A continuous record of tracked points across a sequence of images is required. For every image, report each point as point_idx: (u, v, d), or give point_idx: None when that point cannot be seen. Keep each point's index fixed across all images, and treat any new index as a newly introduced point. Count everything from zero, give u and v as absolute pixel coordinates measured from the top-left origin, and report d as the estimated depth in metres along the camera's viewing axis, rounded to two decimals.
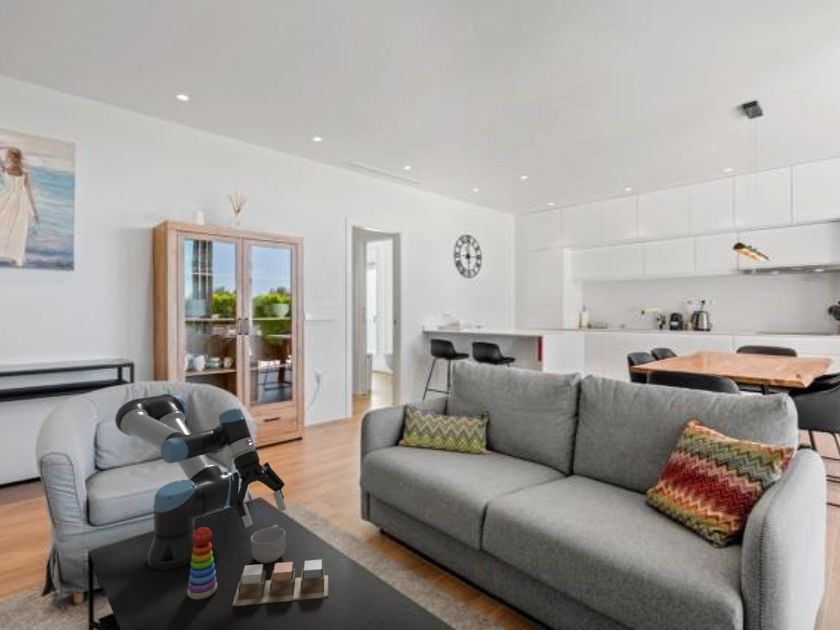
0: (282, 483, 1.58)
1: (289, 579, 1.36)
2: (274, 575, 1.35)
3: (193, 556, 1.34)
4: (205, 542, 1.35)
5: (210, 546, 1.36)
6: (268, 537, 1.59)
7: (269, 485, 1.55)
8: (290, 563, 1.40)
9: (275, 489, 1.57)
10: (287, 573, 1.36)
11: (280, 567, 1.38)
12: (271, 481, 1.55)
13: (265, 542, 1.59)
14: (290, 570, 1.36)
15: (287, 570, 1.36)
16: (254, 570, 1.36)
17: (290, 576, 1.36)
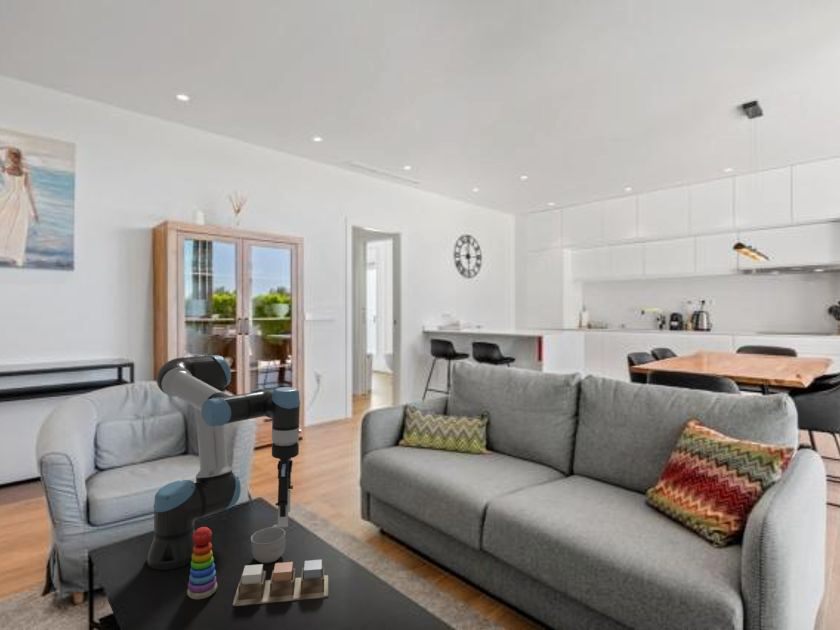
0: (290, 481, 1.44)
1: (289, 579, 1.36)
2: (274, 575, 1.35)
3: (193, 556, 1.34)
4: (205, 542, 1.35)
5: (210, 546, 1.36)
6: (268, 537, 1.59)
7: None
8: (290, 563, 1.40)
9: None
10: (287, 573, 1.36)
11: (280, 567, 1.38)
12: (289, 478, 1.41)
13: (265, 542, 1.59)
14: (290, 570, 1.36)
15: (287, 570, 1.36)
16: (254, 570, 1.36)
17: (290, 576, 1.36)
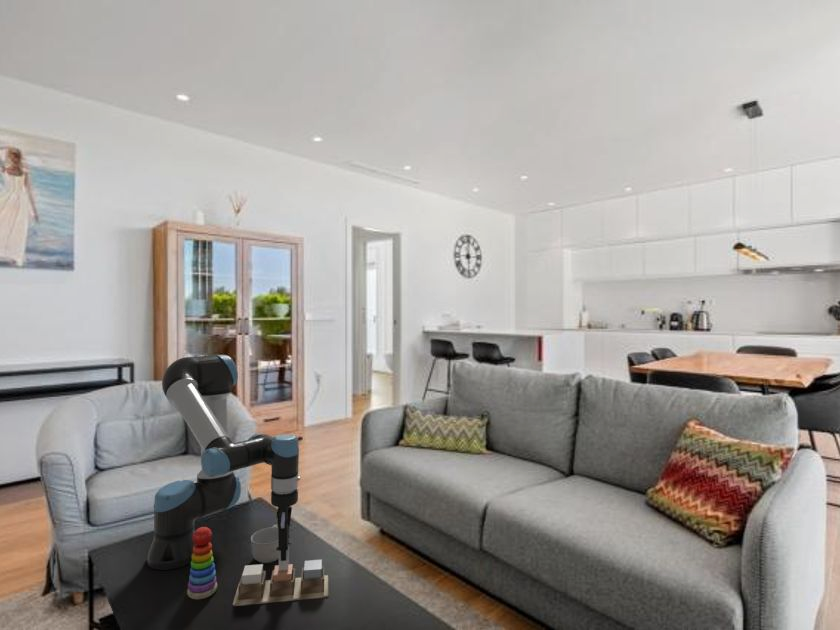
0: None
1: None
2: (274, 577, 1.35)
3: (193, 556, 1.34)
4: (205, 542, 1.35)
5: (210, 546, 1.36)
6: (268, 537, 1.59)
7: None
8: (290, 565, 1.40)
9: None
10: (287, 575, 1.36)
11: None
12: (288, 530, 1.39)
13: (265, 542, 1.59)
14: (290, 572, 1.37)
15: (287, 573, 1.36)
16: (254, 570, 1.36)
17: (290, 578, 1.36)
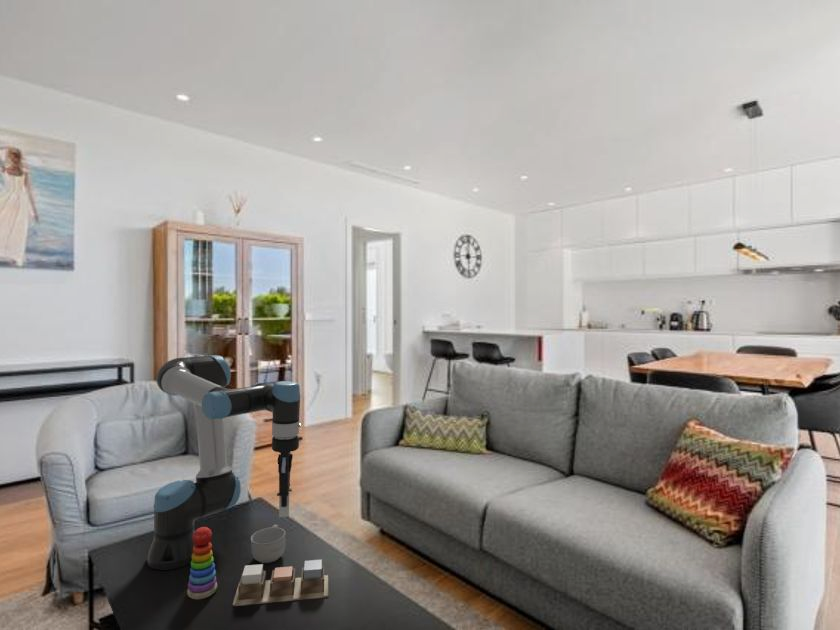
0: (289, 483, 1.40)
1: None
2: (274, 580, 1.35)
3: (193, 556, 1.34)
4: (205, 542, 1.35)
5: (210, 546, 1.36)
6: (268, 537, 1.59)
7: None
8: (290, 567, 1.40)
9: None
10: (287, 578, 1.36)
11: (280, 571, 1.38)
12: (289, 477, 1.39)
13: (265, 542, 1.59)
14: (290, 575, 1.37)
15: (287, 575, 1.36)
16: (254, 570, 1.36)
17: None
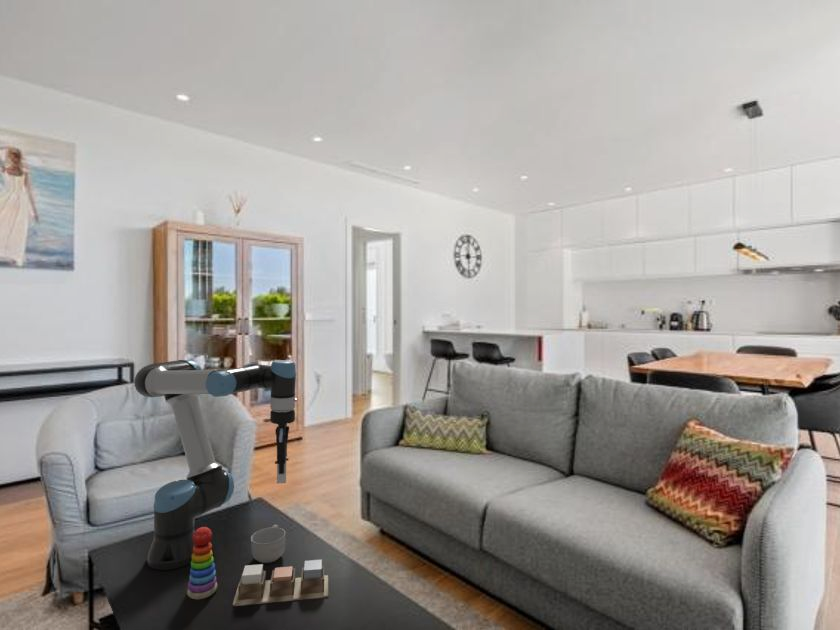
0: (286, 453, 1.54)
1: None
2: (274, 580, 1.35)
3: (193, 556, 1.34)
4: (205, 542, 1.35)
5: (210, 546, 1.36)
6: (268, 537, 1.59)
7: None
8: (290, 567, 1.40)
9: None
10: (287, 578, 1.36)
11: (280, 571, 1.38)
12: None
13: (265, 542, 1.59)
14: (290, 575, 1.37)
15: (287, 575, 1.36)
16: (254, 570, 1.36)
17: None
